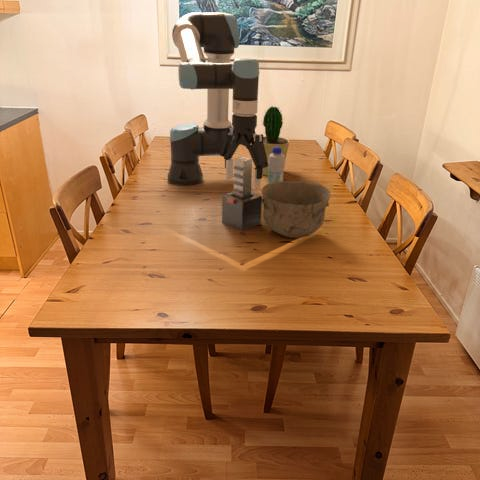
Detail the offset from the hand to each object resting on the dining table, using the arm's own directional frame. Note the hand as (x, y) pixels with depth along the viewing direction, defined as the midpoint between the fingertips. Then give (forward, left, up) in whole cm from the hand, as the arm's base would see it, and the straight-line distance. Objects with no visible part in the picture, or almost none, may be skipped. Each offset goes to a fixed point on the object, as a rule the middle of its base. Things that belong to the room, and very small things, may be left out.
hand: (242, 183), depth 144 cm
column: (0, 0, -14) cm, 14 cm away
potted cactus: (-33, +54, -15) cm, 65 cm away
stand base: (0, 0, -15) cm, 15 cm away
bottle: (-11, +30, -15) cm, 35 cm away
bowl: (+16, +8, -15) cm, 23 cm away
